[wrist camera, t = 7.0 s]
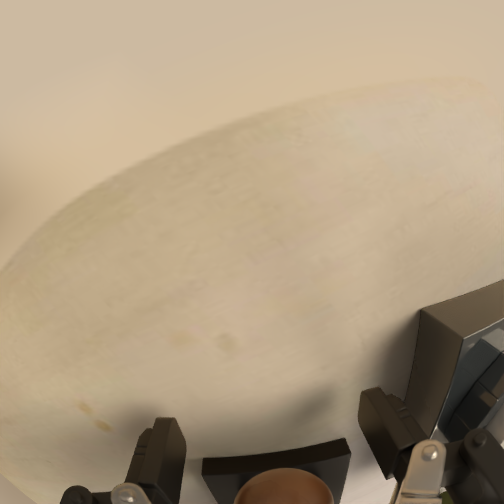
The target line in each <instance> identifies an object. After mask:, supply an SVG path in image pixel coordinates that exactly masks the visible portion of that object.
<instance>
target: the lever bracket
mask: <svg viewBox="0 0 504 504" xmlns="http://www.w3.org/2000/svg"><path fill="white" fill-rule="evenodd" d="M350 458H351V451H350V449H349V446H348V444H347V441H346V439H345V438H343V439H339V440H336V441H332V442H328V443H323V444H319V445H314V446H310V447H305V448H300V449H294V450H289V451H283V452H276V453H269V454H261V455H252V456H242V457H228V458H204V459H203V463H202V474H201V475H202V477H203V479H204V480H205V482H206V484H207V486H208V487H209V489H210V491H211V493H212V494H213V496H214V498H215V499H216V501H217V503H218V504H234V501H235V498H236V496H237V494H238V492H239V490H240V489H241V488H242V487H243V485H244V484H245V483H246V482H248V481H249V480H250V479H252V478H253V477H255V476H256V475H258V474H260V473H263V472H265V471H269V470H273V469H278V468H295V469H300V470H304V471H307V472H310V473H312V474H314V475H315V476H317V477H319V478H320V479H321V480H322V481H323V482H324V483H325V484H326V485H327V486H328V488H329V489H330V491H331V493H332V496H333V500H334V504H339V503H340V499H341V496H342V492H343V488H344V484H345V480H346V476H347V471H348V467H349V462H350Z"/></svg>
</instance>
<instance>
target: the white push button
mask: <svg viewBox="0 0 504 504" xmlns="http://www.w3.org/2000/svg"><path fill="white" fill-rule="evenodd" d="M485 429H486V430H488V431H489V432H490V433H491V434H492V435H493V436H494V438H495V439H496V440H497V441H498V442H499V444H500V445H501V446H502V447H503V449H504V404H503V405H502V406H501V408H500V409H499V410H498V412H497V413H496V415H495V416H494V417H493V419H492V420H491V421H490V423H489V424H488V425H487V427H486V428H485Z"/></svg>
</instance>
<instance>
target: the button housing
mask: <svg viewBox="0 0 504 504" xmlns="http://www.w3.org/2000/svg"><path fill="white" fill-rule="evenodd" d="M404 404H405V406H406V408H407V409H408V410H409V411H410V413H411V415H413V417H414V418H415V420H416V421H417V422H418V424H419V425H420V427H421V428H422V429H423V431H424V432H425V434H426V435H427V436H428V437H429V438H430V439H435V440H438V441H440V442H442V443H450V442H455V441H459V440H463V439H464V438H465V436H466V434H467V433H468V432H469V431H471V430H473V429H476V428H483V429H485V428H486V427H487V425H488V424H489V423H490V421H491V420H492V419H493V417H494V416H495V415H496V413H497V412H498V410H499V409H500V408H501V406H502V405H503V404H504V280H502V281H499V282H497V283H494V284H492V285H489V286H486V287H484V288H481V289H479V290H476V291H473V292H470V293H468V294H465V295H462V296H459V297H456V298H453V299H450V300H447V301H444V302H441V303H438V304H435V305H432V306H428V307H425V308H422V309H421V317H420V325H419V332H418V339H417V346H416V352H415V357H414V363H413V368H412V373H411V377H410V382H409V386H408V391H407V395H406V399H405V403H404Z"/></svg>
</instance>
